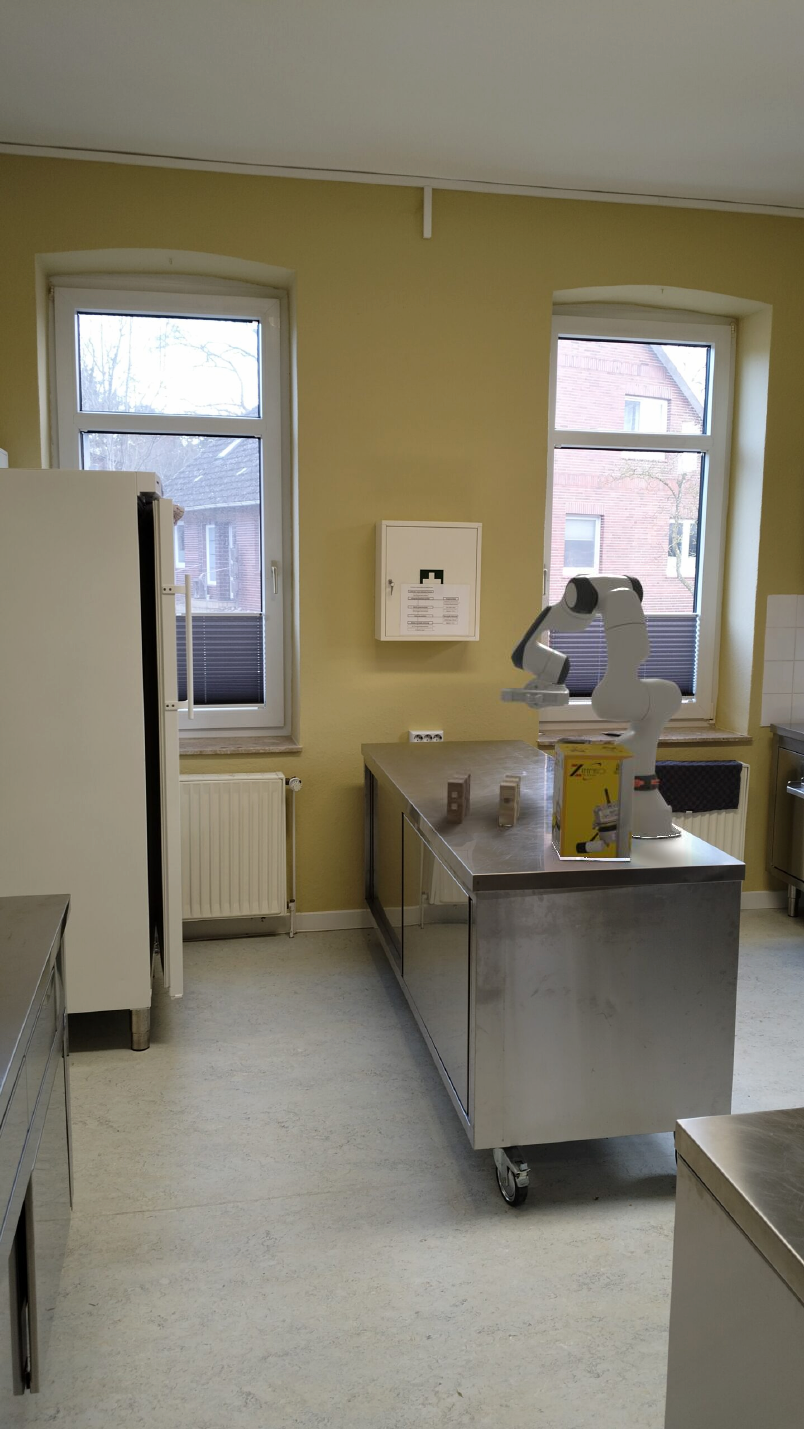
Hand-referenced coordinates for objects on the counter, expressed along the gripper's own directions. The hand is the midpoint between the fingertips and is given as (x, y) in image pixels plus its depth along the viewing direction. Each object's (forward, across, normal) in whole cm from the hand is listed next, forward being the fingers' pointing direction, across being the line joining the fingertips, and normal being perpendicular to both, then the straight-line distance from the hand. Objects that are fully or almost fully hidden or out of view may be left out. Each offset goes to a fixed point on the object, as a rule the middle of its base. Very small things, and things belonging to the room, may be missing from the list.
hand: (532, 699), depth 293 cm
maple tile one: (+26, -3, +30) cm, 40 cm away
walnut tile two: (+26, -17, +30) cm, 43 cm away
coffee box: (-17, +12, +30) cm, 36 cm away
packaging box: (+53, +19, +30) cm, 64 cm away
